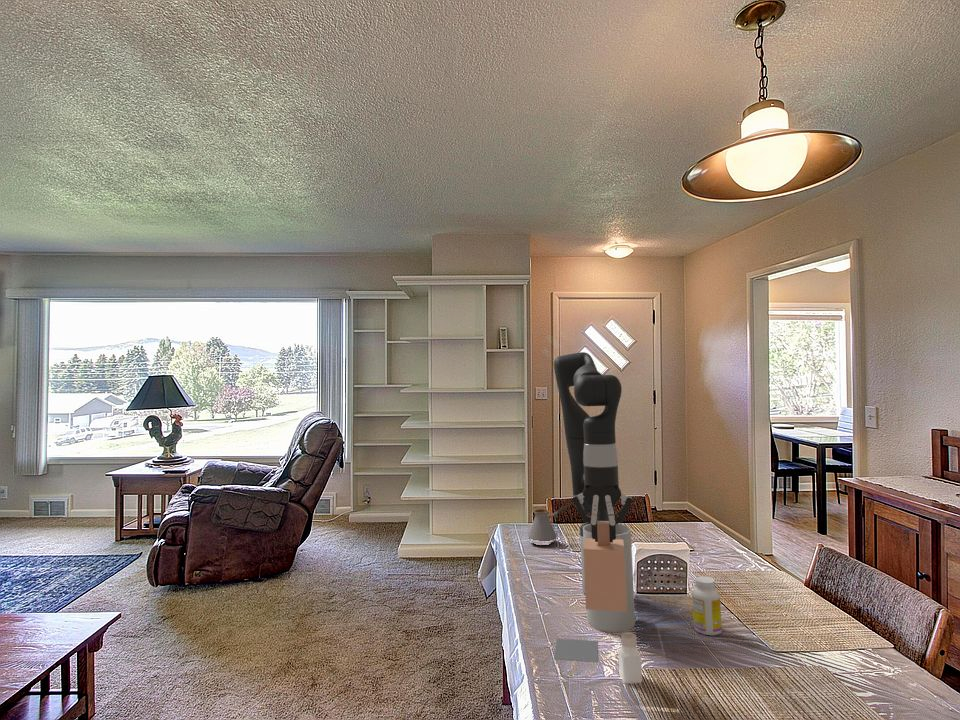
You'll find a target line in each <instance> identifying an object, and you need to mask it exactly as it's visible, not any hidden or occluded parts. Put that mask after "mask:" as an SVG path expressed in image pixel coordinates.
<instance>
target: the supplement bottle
mask: <svg viewBox="0 0 960 720" xmlns="http://www.w3.org/2000/svg"><path fill="white" fill-rule="evenodd" d="M694 581H695V582H694V584H695V585H696V586H694V588H692V590H691V599H692V600H691V601H692V604H691V605H692V616H693V617H692V618H693V619H692V620H693V628H694V630H695V631H696V632H697V633H700V634H702V635H704V636H718V635H720V634H722V631H723V626H722V625H723V624H722V623H723V622H722V610H721V596H720V592H719V591H718V590H717V589H716V588H715V586H716V583H715V582H716V581H715V579H714V578H712V577H710V576H703V575H702V576H701V575H700V576H696V577H695V578H694Z"/></svg>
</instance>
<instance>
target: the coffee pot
mask: <svg viewBox="0 0 960 720" xmlns="http://www.w3.org/2000/svg"><path fill="white" fill-rule="evenodd" d="M573 505H575V504H574V502H573V501H572V502H571V503H568V504H567V505H564V506H563V507H561V508H559V509H558V510H557V511H555V512H553V513H552V514H550V515H549V513H550V510H548V509H545V508H544V509H543V508H540V509H539V508H538V509H534V510H533V511H532V512H533V513H534V518H533V522H532V525H531V526H530V529H529V533H528V534H527V536H528V537H529V538H531V539H533V540H539V541H550V540H554V539H556V540H557V538H556V537H557V533H556V531H555V528H554V527H553V524H552V522H551V520H550V519H551V518H552V517H554V516H556V515H557V514H560V513H562V512H564V511H566V510H567V509H568V508H569V507H572V506H573ZM529 538H528V539H529Z"/></svg>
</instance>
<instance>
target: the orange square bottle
mask: <svg viewBox="0 0 960 720" xmlns="http://www.w3.org/2000/svg"><path fill="white" fill-rule="evenodd" d="M597 535H598V542H595V539H592V538H585V543H584V572H585V594H584V597H585V610H586V609H589V610H604V611H619V612H627V598H626V575H625V552H624V542H623V540H621V539H615V540H613V542H610V535H609V521H597Z"/></svg>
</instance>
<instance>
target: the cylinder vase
mask: <svg viewBox="0 0 960 720" xmlns="http://www.w3.org/2000/svg"><path fill="white" fill-rule="evenodd" d="M609 524H610V523H609ZM615 528H616V539H621V540H623V542H624V552H625V575H626V598H627V612H619V611H604V610H589V609H586V608H585V611H586V621H587V624H588V625H589V626H590V627H592V628H593V629H596V630H598V631H601V632H606V633H625V632H628V631H630V630H632V629H633V628H634V627H635V625H636V614H635V613H636V611H635V592H634V591H635V590H634V572H633V571H634V570H633V567H634V566H633V553H632V552H633V549H632V530H631V527H630V526H628V525H625V524H622V523H618V524H616V526H615ZM585 538H592V531H591V524H588V525H585V526H584V527H583V543H585Z"/></svg>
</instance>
